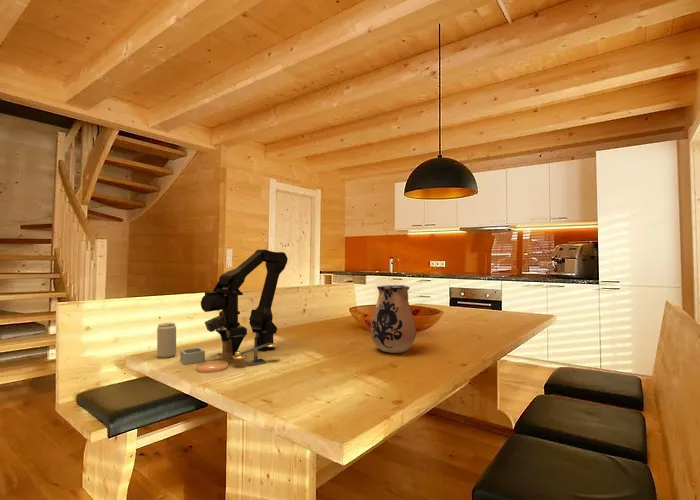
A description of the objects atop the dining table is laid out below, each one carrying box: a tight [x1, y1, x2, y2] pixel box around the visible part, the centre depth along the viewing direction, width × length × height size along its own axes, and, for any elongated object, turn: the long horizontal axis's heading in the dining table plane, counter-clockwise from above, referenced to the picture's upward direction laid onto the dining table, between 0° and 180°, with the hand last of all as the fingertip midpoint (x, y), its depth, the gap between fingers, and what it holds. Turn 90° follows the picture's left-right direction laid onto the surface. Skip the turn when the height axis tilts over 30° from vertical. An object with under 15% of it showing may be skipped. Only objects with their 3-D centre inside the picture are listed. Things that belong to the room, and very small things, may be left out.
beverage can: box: [156, 322, 177, 359], centre depth 148 cm, size 6×6×12 cm
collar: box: [179, 347, 206, 365], centre depth 142 cm, size 7×7×4 cm
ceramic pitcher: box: [370, 284, 417, 354], centre depth 158 cm, size 18×21×25 cm
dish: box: [195, 359, 229, 374], centre depth 133 cm, size 10×10×1 cm
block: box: [221, 340, 235, 361], centre depth 146 cm, size 4×4×6 cm
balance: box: [233, 342, 279, 367], centre depth 139 cm, size 16×4×6 cm, turn 125°
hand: (229, 351), depth 146 cm, fingers open, 9 cm apart
